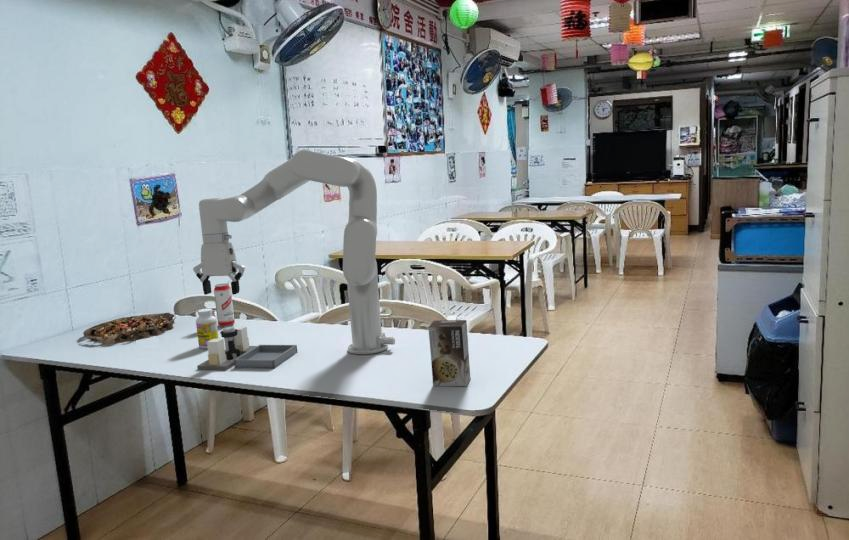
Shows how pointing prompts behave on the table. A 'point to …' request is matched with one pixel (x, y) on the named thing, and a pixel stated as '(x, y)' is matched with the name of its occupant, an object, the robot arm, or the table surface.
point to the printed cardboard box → (449, 353)
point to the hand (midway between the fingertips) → (221, 293)
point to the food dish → (131, 328)
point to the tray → (266, 356)
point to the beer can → (224, 305)
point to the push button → (230, 342)
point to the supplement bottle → (206, 327)
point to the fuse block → (217, 351)
